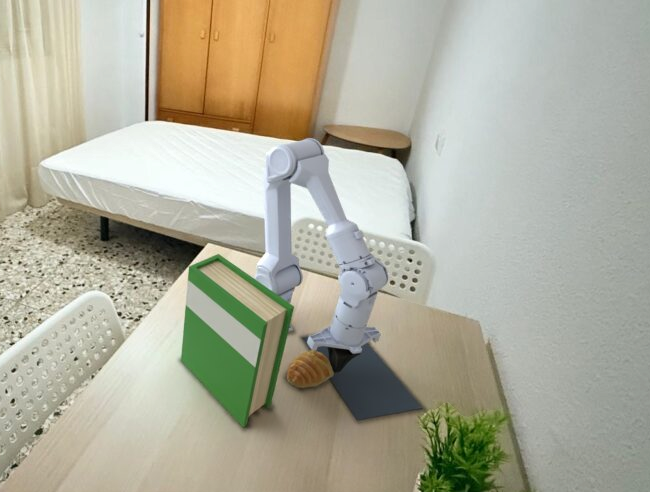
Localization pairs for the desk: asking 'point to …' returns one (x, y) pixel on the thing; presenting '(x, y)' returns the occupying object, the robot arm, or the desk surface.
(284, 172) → the robot arm
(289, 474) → the desk surface
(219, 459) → the desk surface
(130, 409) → the desk surface
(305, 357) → the pastry
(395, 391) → the napkin
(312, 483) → the desk surface
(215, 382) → the hardback book
